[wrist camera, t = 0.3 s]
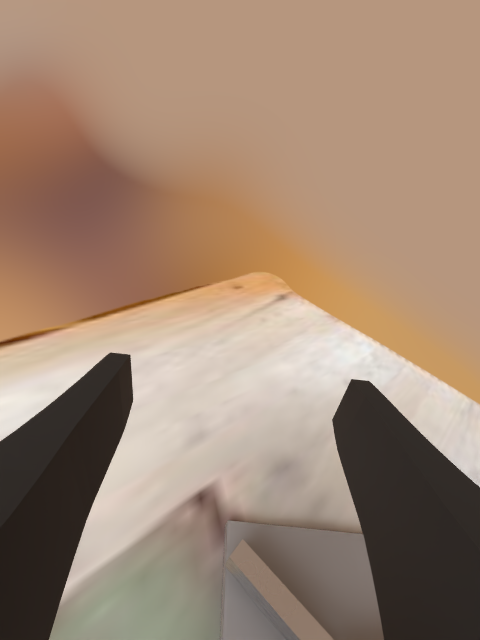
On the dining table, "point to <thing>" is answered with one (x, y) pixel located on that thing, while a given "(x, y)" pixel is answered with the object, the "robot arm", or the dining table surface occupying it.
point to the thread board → (303, 581)
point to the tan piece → (273, 596)
